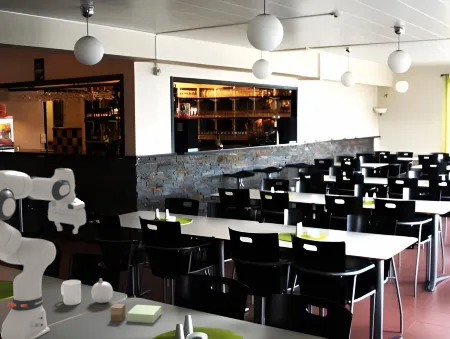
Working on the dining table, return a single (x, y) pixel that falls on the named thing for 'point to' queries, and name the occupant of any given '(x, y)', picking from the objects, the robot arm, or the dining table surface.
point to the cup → (71, 292)
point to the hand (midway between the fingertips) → (67, 231)
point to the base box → (144, 313)
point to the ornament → (102, 292)
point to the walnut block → (118, 312)
